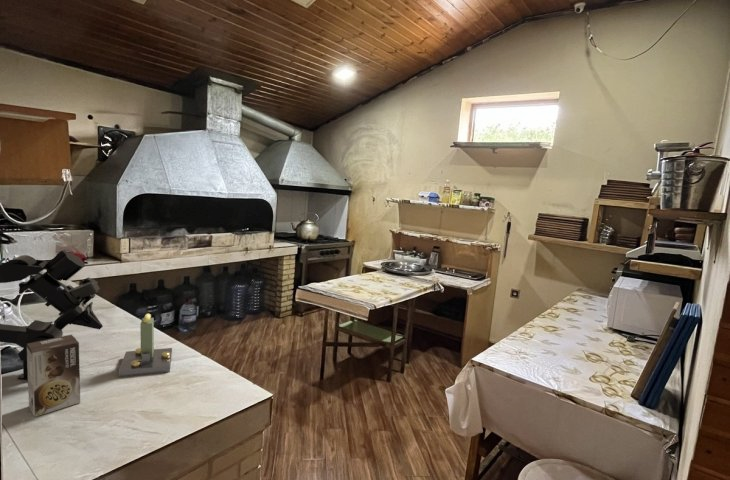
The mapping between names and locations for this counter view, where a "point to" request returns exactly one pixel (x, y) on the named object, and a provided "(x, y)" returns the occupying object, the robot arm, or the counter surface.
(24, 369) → the robot arm
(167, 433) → the counter surface
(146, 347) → the green lever
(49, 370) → the coffee box
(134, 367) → the base
